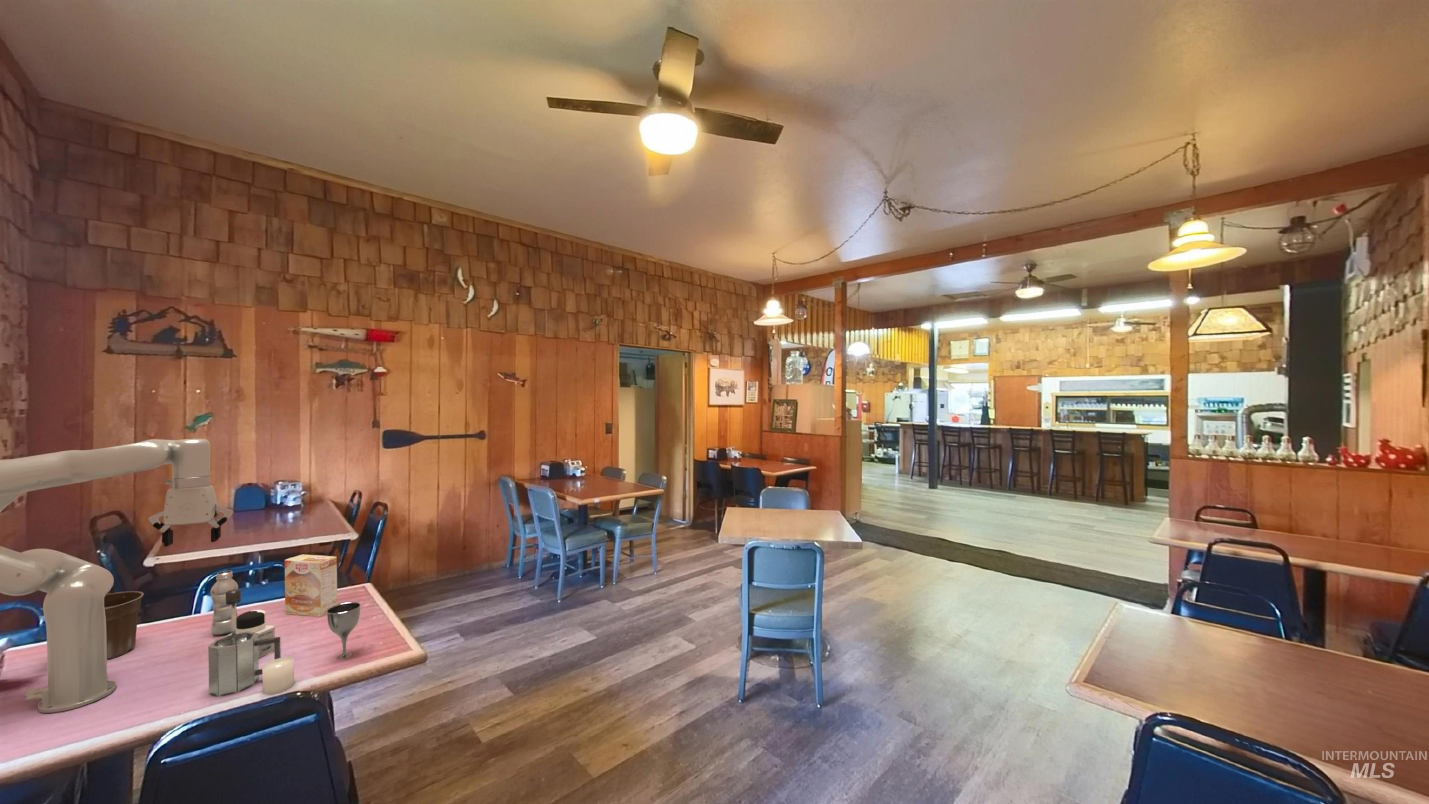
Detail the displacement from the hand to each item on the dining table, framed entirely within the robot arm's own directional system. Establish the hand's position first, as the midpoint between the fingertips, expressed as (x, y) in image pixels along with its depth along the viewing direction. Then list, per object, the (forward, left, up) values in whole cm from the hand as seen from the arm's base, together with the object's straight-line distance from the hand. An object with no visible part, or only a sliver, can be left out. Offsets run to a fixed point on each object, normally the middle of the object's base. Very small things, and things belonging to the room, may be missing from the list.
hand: (192, 543), depth 144 cm
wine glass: (+37, -11, -36) cm, 53 cm away
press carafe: (+16, -17, -36) cm, 43 cm away
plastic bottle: (-1, +26, -36) cm, 45 cm away
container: (+12, +3, -37) cm, 38 cm away
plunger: (+14, -17, -27) cm, 34 cm away
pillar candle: (+24, -23, -36) cm, 49 cm away
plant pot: (-28, +24, -37) cm, 52 cm away
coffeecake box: (+20, +34, -37) cm, 54 cm away
